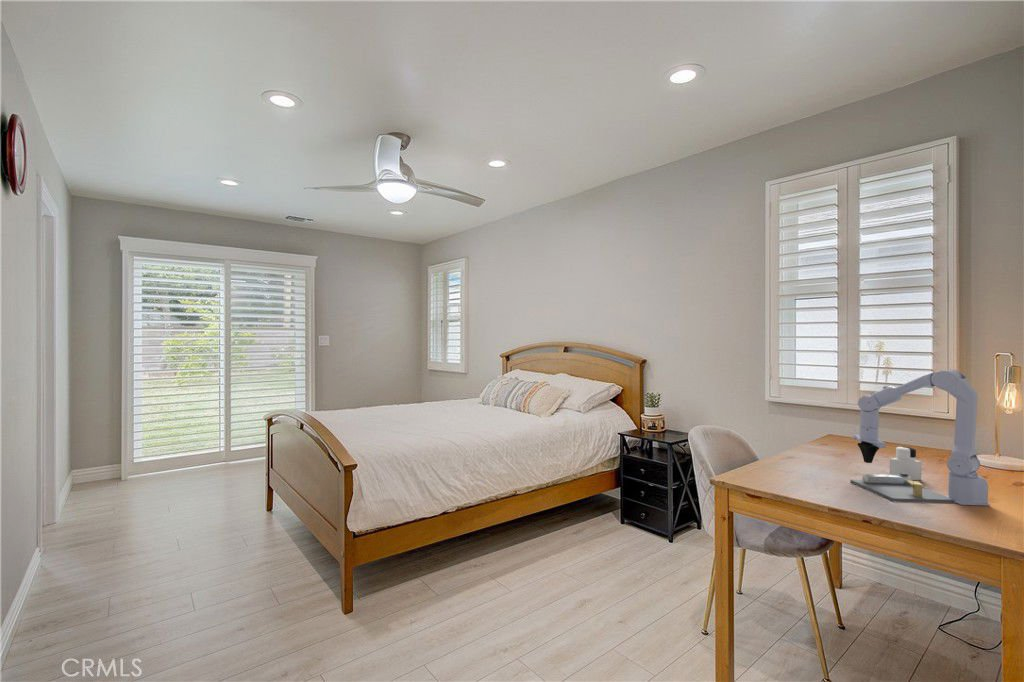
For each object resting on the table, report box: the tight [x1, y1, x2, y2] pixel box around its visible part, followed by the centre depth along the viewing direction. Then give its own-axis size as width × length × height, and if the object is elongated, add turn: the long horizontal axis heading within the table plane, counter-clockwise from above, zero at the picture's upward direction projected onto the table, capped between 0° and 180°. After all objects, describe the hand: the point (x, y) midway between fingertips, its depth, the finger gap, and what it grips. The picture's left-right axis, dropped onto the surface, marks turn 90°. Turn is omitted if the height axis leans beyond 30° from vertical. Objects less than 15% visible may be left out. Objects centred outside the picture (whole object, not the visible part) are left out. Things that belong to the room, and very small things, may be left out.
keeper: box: [907, 480, 924, 498], centre depth 166 cm, size 6×3×4 cm, turn 154°
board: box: [849, 473, 955, 504], centre depth 171 cm, size 20×21×5 cm
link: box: [861, 473, 911, 484], centre depth 178 cm, size 16×4×2 cm, turn 89°
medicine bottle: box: [889, 445, 923, 481], centre depth 189 cm, size 7×7×12 cm
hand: (868, 462), depth 185 cm, fingers closed
